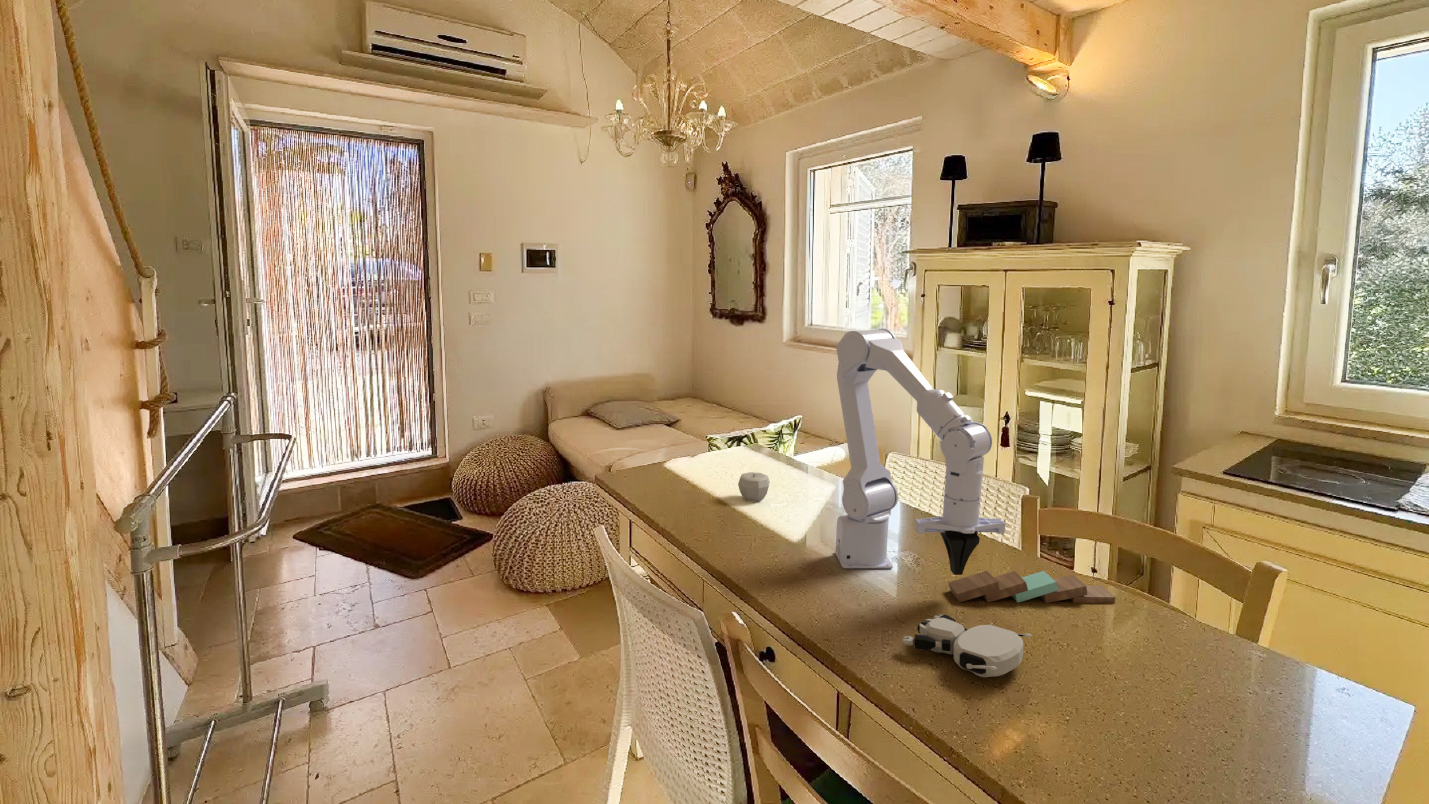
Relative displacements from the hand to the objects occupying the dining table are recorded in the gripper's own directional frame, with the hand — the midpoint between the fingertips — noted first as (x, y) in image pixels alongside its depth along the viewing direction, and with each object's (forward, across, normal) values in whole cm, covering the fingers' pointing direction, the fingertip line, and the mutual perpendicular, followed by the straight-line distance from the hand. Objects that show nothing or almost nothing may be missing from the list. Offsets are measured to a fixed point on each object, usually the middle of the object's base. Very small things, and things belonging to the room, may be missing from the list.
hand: (956, 572), depth 118 cm
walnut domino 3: (+4, +15, 0) cm, 15 cm away
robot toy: (+5, -5, -19) cm, 20 cm away
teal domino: (+4, +10, 0) cm, 10 cm away
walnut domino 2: (+4, +5, 0) cm, 6 cm away
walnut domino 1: (+4, 0, 0) cm, 4 cm away
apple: (+5, -30, +51) cm, 60 cm away
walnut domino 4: (+4, +19, 0) cm, 20 cm away
